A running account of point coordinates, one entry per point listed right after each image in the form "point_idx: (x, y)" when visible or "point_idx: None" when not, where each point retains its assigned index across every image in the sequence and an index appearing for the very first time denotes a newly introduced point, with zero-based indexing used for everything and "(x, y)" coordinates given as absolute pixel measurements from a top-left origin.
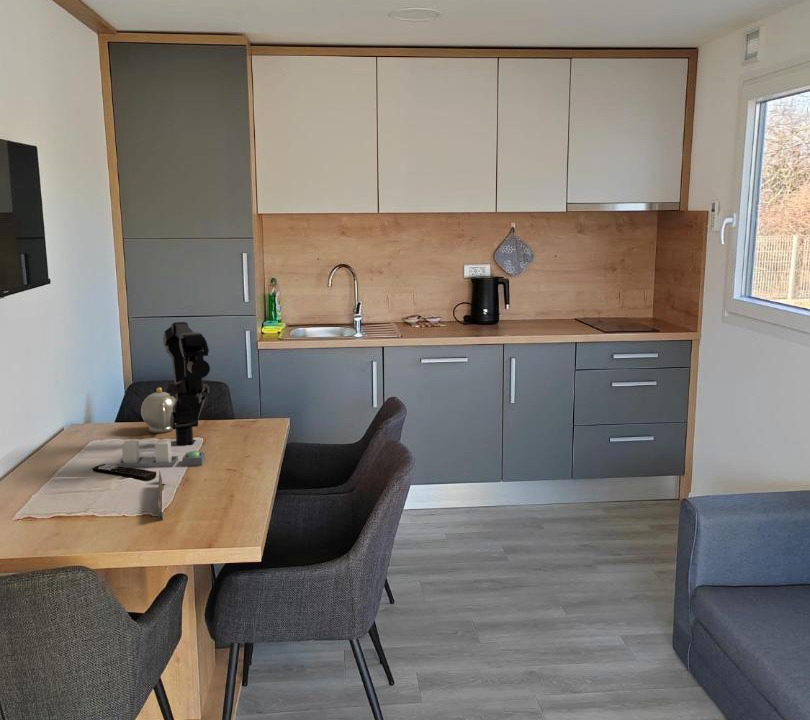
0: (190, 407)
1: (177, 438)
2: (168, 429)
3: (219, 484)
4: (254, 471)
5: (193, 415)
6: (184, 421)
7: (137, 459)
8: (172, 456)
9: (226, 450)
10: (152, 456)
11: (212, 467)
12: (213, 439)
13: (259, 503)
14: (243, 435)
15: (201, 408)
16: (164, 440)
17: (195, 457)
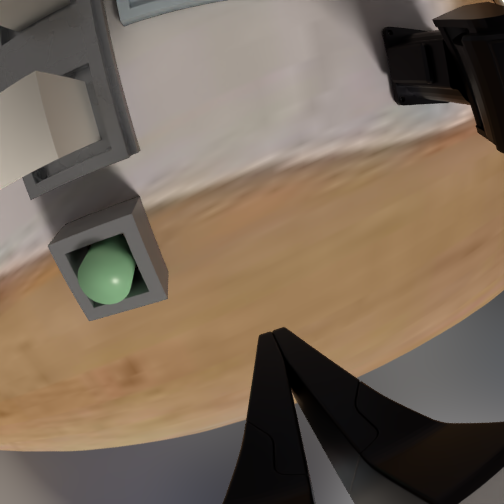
0: (234, 479)
1: (415, 39)
2: (500, 3)
3: (24, 383)
4: (146, 416)
5: (256, 378)
6: (473, 84)
7: (28, 15)
8: (118, 131)
9: (349, 263)
10: (156, 4)
11: (127, 318)
12: (463, 158)
13: (13, 445)
14: (481, 234)
15: (330, 457)
16: (42, 117)
17: (81, 295)
